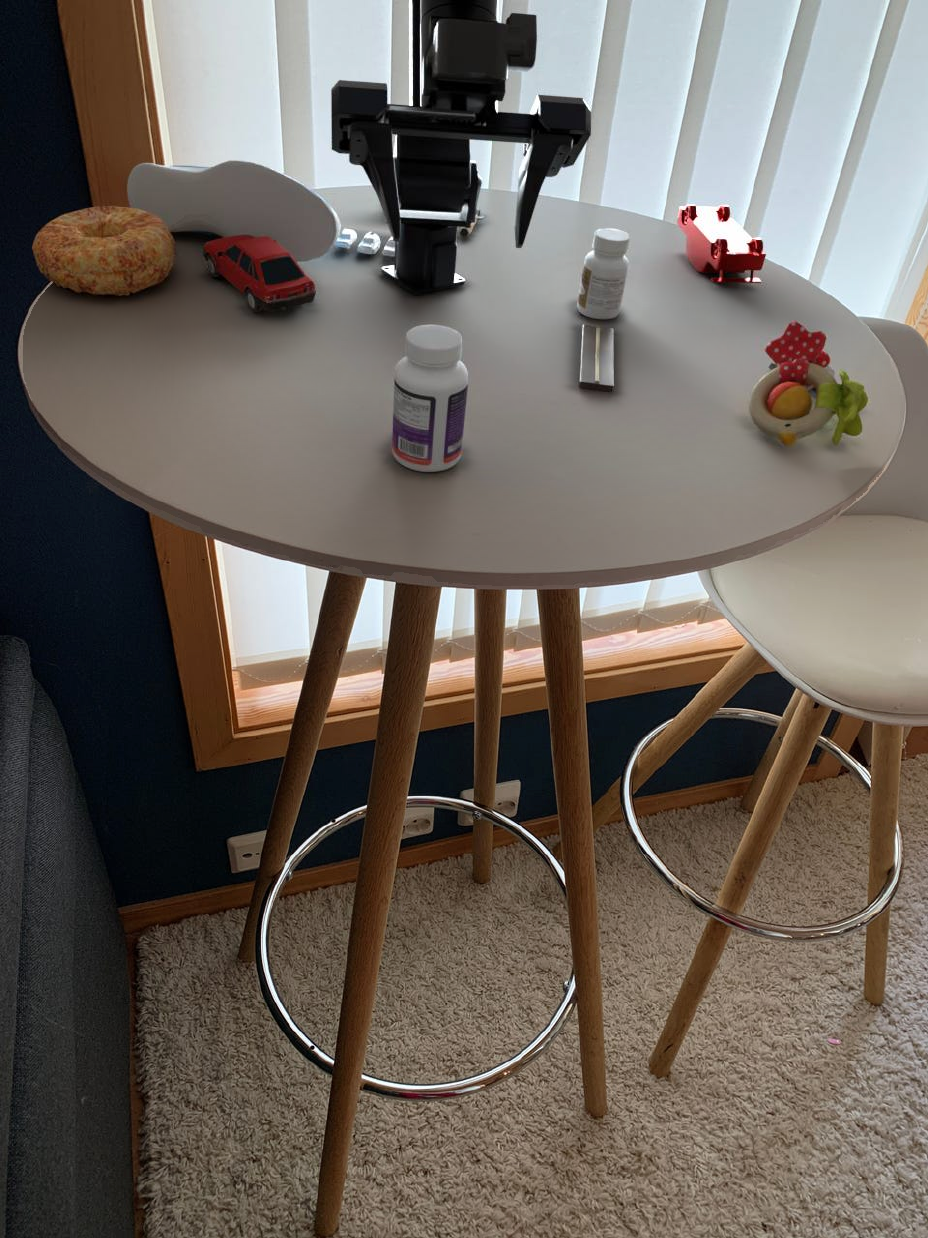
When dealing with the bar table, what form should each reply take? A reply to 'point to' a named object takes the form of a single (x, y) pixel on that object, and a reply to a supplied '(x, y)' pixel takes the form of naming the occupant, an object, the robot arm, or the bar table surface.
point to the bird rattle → (804, 390)
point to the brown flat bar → (597, 358)
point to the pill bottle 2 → (604, 275)
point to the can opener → (466, 231)
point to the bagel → (105, 250)
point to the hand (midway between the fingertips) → (458, 243)
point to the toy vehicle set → (365, 243)
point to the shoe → (237, 204)
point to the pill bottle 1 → (429, 400)
